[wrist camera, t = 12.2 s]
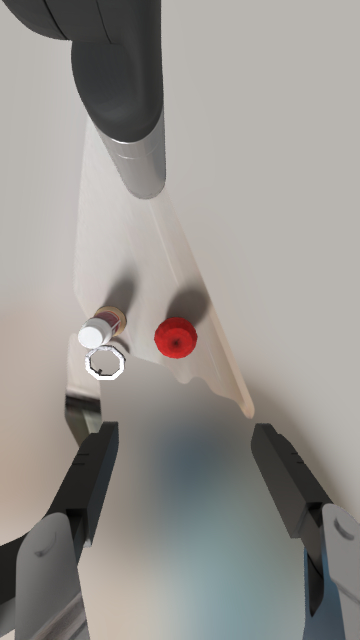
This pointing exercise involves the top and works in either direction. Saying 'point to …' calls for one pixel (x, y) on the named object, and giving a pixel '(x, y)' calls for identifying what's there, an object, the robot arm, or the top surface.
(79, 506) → the robot arm
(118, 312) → the cork coaster
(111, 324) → the pill bottle
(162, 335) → the apple
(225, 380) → the top surface
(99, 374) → the ring stand
